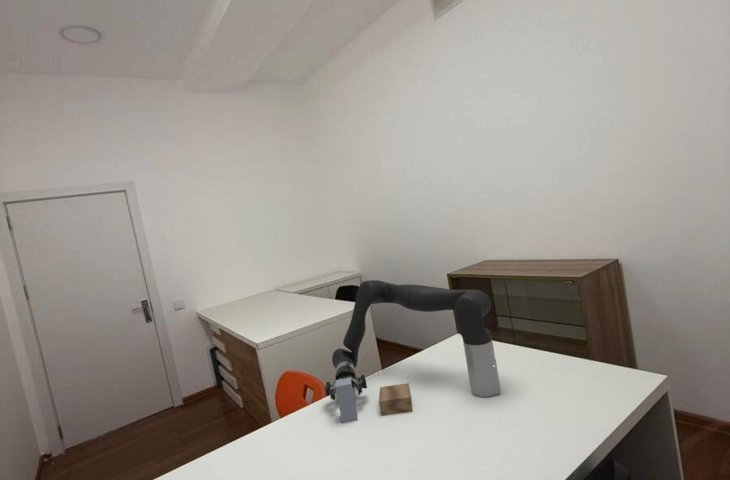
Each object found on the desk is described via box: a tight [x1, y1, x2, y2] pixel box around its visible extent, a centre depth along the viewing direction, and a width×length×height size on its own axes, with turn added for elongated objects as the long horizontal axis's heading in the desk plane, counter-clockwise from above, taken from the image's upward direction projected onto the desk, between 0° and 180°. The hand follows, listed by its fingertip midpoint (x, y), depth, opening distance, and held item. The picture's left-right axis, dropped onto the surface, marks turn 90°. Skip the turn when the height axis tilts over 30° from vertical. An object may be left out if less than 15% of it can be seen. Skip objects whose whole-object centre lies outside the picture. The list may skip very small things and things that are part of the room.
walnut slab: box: [378, 382, 414, 417], centre depth 129 cm, size 10×10×5 cm
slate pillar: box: [335, 377, 358, 424], centre depth 127 cm, size 5×5×12 cm
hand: (346, 394), depth 129 cm, fingers open, 8 cm apart
